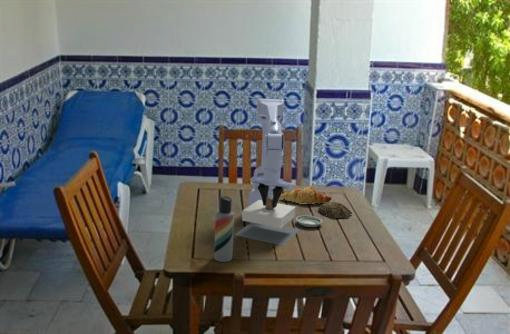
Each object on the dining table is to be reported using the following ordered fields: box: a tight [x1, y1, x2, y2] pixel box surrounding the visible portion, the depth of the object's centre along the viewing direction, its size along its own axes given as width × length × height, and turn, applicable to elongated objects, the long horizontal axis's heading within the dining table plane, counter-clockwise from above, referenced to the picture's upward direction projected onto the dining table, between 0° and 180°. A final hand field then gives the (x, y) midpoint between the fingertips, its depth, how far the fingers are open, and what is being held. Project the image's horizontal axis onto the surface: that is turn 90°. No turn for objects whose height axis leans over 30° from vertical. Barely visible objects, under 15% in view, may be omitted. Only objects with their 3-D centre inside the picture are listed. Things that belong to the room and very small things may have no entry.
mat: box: [234, 222, 301, 247], centre depth 193 cm, size 18×17×1 cm
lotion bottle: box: [213, 195, 235, 263], centre depth 168 cm, size 6×6×20 cm
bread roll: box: [317, 201, 353, 219], centre depth 216 cm, size 13×12×5 cm
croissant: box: [279, 186, 332, 205], centre depth 228 cm, size 21×10×8 cm, turn 86°
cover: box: [241, 197, 297, 229], centre depth 191 cm, size 14×14×7 cm
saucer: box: [295, 214, 323, 228], centre depth 202 cm, size 10×10×2 cm
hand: (269, 205), depth 190 cm, fingers closed on cover, 3 cm apart
